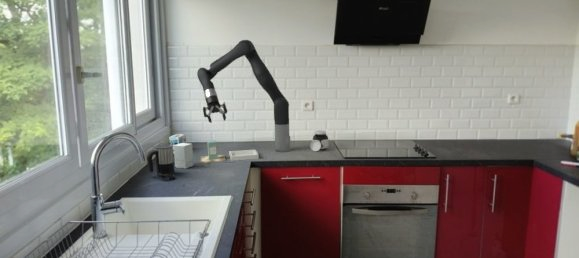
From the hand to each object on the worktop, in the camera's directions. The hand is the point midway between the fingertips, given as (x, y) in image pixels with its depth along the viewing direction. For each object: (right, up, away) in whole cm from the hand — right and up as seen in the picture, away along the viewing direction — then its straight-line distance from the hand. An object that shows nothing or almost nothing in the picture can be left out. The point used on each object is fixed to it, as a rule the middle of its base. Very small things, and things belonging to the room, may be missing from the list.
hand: (217, 121), depth 256 cm
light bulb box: (-28, -20, +13) cm, 36 cm away
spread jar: (+63, -18, +12) cm, 66 cm away
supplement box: (-15, -26, -23) cm, 38 cm away
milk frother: (-19, -29, -41) cm, 54 cm away
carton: (-1, -22, -10) cm, 24 cm away
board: (-1, -23, -9) cm, 25 cm away
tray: (+16, -22, -6) cm, 28 cm away
